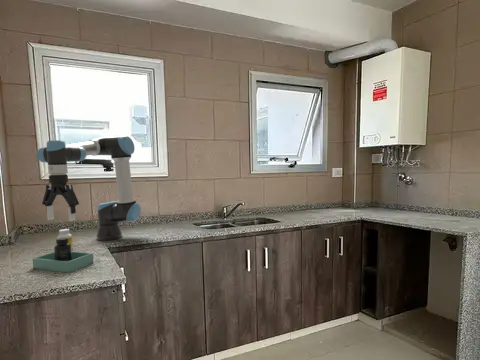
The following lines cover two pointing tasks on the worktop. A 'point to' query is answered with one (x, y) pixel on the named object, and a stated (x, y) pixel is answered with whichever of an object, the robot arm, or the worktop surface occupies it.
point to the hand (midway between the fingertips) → (61, 220)
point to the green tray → (63, 262)
